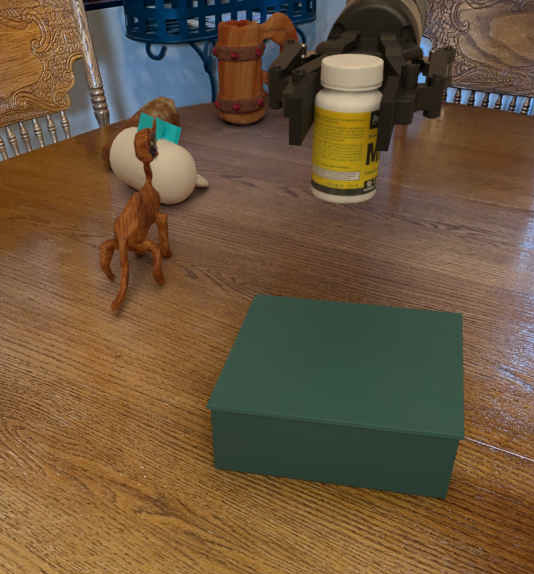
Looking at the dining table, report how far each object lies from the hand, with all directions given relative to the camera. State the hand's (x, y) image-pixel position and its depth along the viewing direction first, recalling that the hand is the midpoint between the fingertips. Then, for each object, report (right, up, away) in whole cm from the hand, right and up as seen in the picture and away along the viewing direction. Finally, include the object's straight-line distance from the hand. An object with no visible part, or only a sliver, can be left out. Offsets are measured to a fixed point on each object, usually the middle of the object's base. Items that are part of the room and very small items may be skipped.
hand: (339, 124), depth 42 cm
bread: (-23, +27, +64) cm, 73 cm away
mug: (-6, +39, +76) cm, 86 cm away
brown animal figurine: (-18, -1, +33) cm, 37 cm away
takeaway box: (+2, -17, +14) cm, 22 cm away
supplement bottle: (+1, -1, +8) cm, 8 cm away
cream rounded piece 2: (-17, +16, +51) cm, 57 cm away
